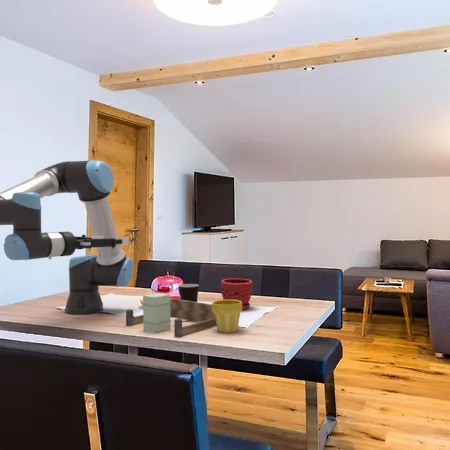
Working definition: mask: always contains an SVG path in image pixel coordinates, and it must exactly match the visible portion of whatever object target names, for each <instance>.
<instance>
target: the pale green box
mask: <svg viewBox="0 0 450 450" xmlns="http://www.w3.org/2000/svg"><path fill="white" fill-rule="evenodd" d="M170 298H171V294H170V293H169V294H168V293H162V292H161V293H160V292H156V293H151V294H144V295H143V296H142V306H143V310H142V311H143V313H142V315H143V323H142V324H143V331H145V332H148V333H149V332H150V333H153V334H157V333H161V332H165V331H168V330H171V322H172V319H171V317H170V304H171V302H170Z"/></svg>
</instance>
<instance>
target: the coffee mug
mask: <svg viewBox="0 0 450 450" xmlns="http://www.w3.org/2000/svg"><path fill="white" fill-rule="evenodd" d="M177 287H178V294H179V299H180V300H186V301H193V302H198V298H199V289H200V288H199V287H200V285H199V284H196V283H185V284H184V283H183V284H179V285H178V286H177Z"/></svg>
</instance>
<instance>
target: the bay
mask: <svg viewBox="0 0 450 450" xmlns="http://www.w3.org/2000/svg"><path fill="white" fill-rule="evenodd" d="M170 302H171V304H170V318H176V319H173V321H174V324H173V326H174V329H173V330H174V331H173V333H174V336H173V337H175V338H181V337H183V336H187V335H190V334H194V333H197V332H199V331H203V330H207V329H211V328H213V327H217V324H216V320H215V315H214V313H213V312H212V303H206V302H205V303H204V302H198V301H197V302H193V301H186V300H180V298H172V297H170ZM183 320H185V321H192V322H195V323H191V324H189V325H185V326H183ZM138 324H143V314H142V315H137V316H134V309H126V310H125V326H127V327H132V326H134V325H135V326H136V325H138Z"/></svg>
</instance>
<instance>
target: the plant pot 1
mask: <svg viewBox="0 0 450 450" xmlns="http://www.w3.org/2000/svg"><path fill="white" fill-rule="evenodd" d="M220 285H221V286H220V288H221V290H220V291H221V296H222V300H239V301H241V302H242V311H244V310H247V309H248V308H250V306H251V304H250V300H251V298H252V293H253V280H251V279H247V278H236V277H235V278H232V277H231V278H224V279H222V280H221V283H220Z"/></svg>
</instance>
